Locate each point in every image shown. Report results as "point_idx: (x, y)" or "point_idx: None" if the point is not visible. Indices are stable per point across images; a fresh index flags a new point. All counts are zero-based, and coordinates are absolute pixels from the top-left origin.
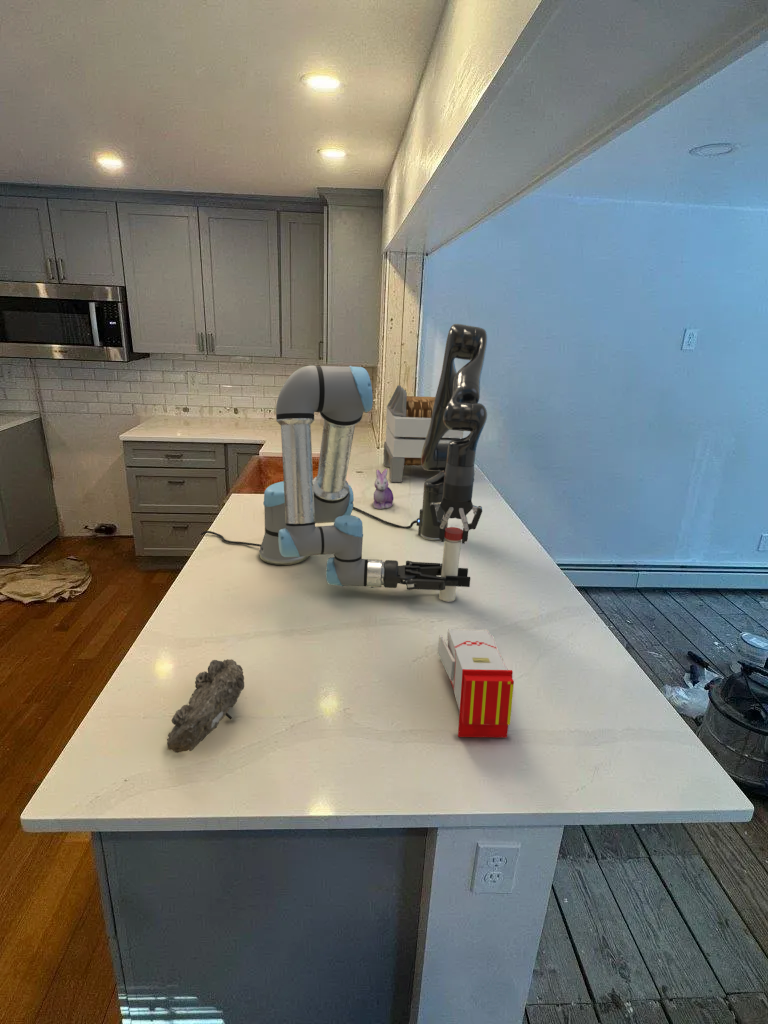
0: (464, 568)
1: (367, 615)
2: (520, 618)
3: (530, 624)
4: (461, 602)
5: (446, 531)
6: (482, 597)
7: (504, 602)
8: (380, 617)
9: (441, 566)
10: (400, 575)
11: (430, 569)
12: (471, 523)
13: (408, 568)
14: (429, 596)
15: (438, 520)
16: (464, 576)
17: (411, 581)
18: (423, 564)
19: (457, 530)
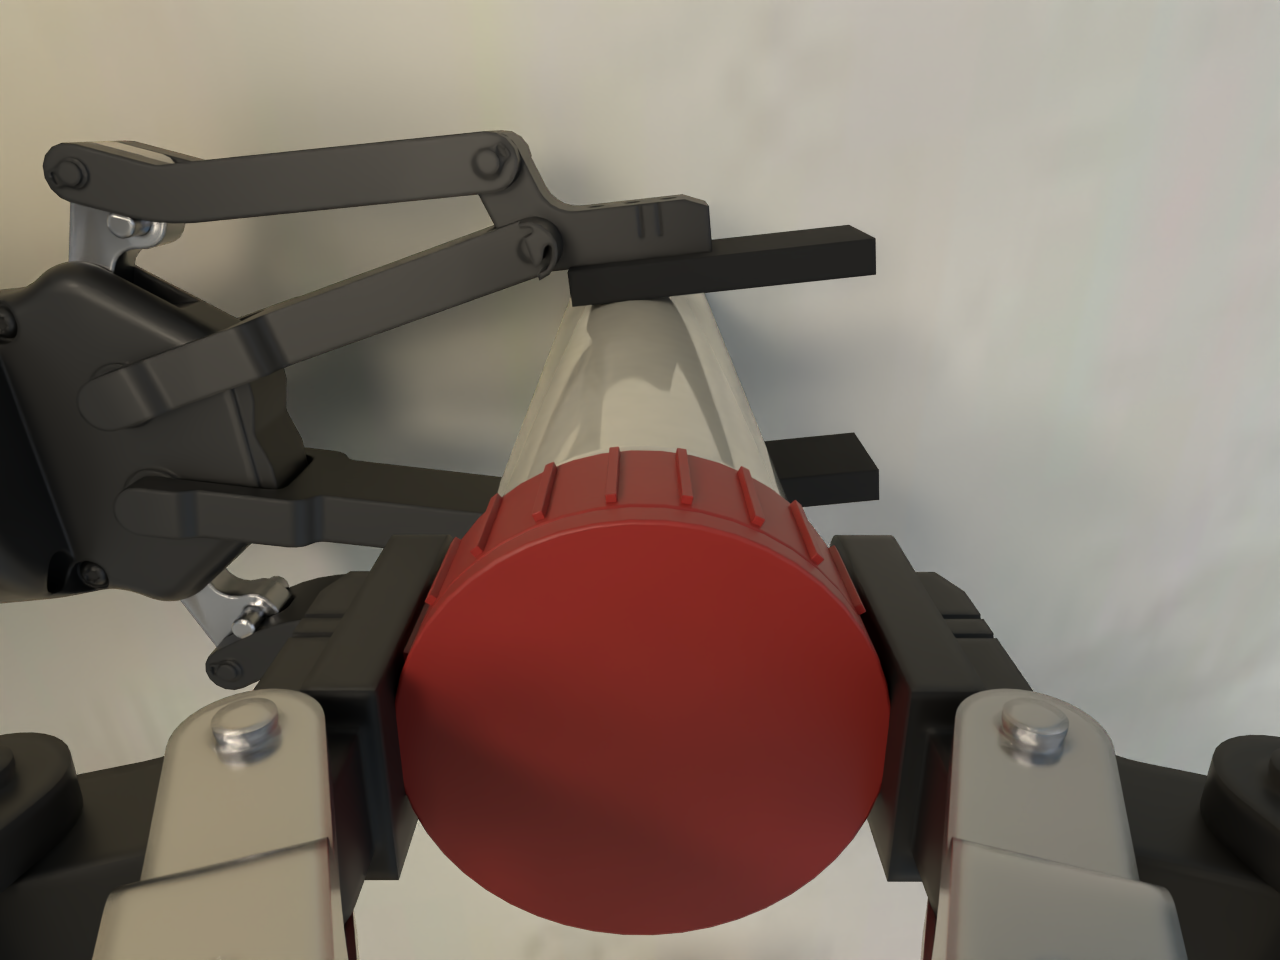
0: (831, 253)
1: (78, 700)
2: (1219, 546)
3: (1268, 614)
4: (766, 382)
5: (453, 848)
6: (972, 248)
7: (1163, 306)
8: (174, 709)
9: (529, 255)
10: (105, 564)
11: (402, 323)
12: (1236, 921)
13: (138, 422)
14: (479, 328)
15: (61, 888)
16: (812, 476)
17: (254, 681)
18: (290, 211)
19: (737, 730)
